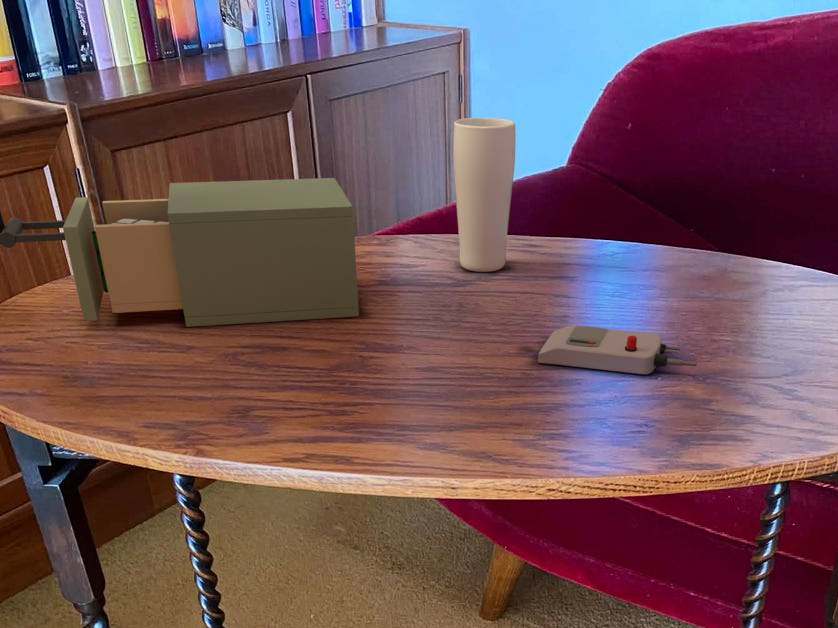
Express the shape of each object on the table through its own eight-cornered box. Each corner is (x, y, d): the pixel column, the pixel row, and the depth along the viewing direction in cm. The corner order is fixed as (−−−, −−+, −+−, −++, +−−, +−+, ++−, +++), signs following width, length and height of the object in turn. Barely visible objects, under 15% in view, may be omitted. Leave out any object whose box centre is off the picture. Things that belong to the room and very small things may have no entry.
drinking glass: (521, 264, 113) (527, 121, 104) (493, 278, 108) (496, 128, 99) (472, 256, 115) (473, 115, 107) (442, 269, 111) (441, 123, 102)
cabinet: (186, 327, 93) (167, 213, 87) (186, 286, 104) (169, 183, 98) (359, 316, 96) (352, 206, 90) (341, 278, 107) (334, 177, 101)
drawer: (14, 325, 90) (-12, 230, 85) (31, 287, 99) (8, 199, 95) (251, 311, 94) (240, 220, 89) (245, 276, 104) (235, 192, 99)
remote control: (534, 338, 92) (536, 306, 90) (700, 356, 88) (705, 323, 87) (517, 361, 86) (519, 328, 85) (693, 381, 83) (698, 347, 81)
